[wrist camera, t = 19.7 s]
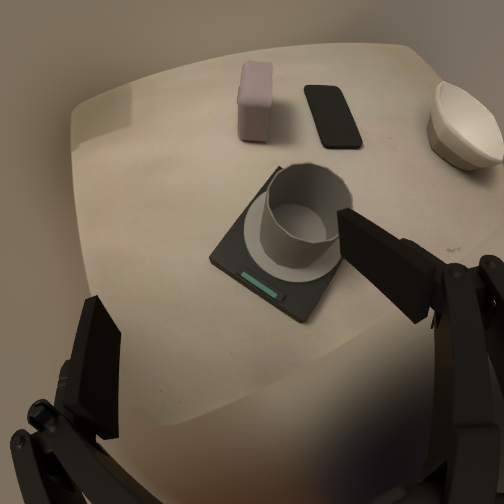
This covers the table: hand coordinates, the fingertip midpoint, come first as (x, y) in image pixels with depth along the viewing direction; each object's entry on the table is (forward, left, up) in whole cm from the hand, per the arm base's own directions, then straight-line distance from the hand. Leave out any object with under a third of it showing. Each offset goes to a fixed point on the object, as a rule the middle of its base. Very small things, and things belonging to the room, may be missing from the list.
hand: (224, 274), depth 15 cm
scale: (+12, -1, -24) cm, 26 cm away
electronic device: (+27, +15, -24) cm, 39 cm away
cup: (+12, -1, -20) cm, 23 cm away
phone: (+37, +5, -24) cm, 44 cm away
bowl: (+51, -18, -24) cm, 59 cm away
